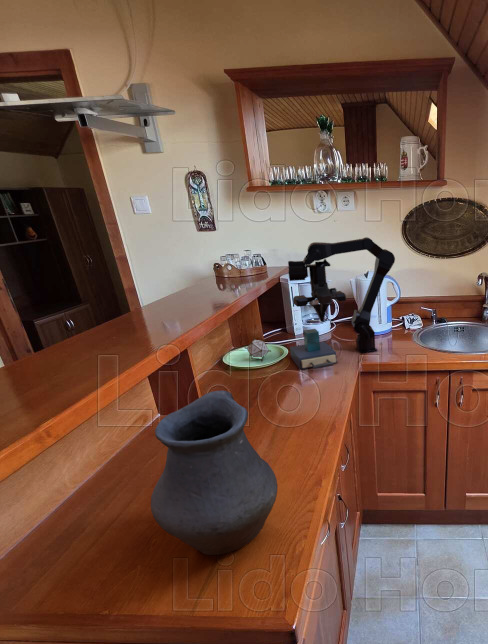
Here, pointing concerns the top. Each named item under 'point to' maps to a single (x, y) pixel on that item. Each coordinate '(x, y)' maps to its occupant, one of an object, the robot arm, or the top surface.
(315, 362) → the drawer
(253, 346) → the game die
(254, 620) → the top surface
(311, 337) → the block
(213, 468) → the dark grey clay pot
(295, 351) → the cabinet
